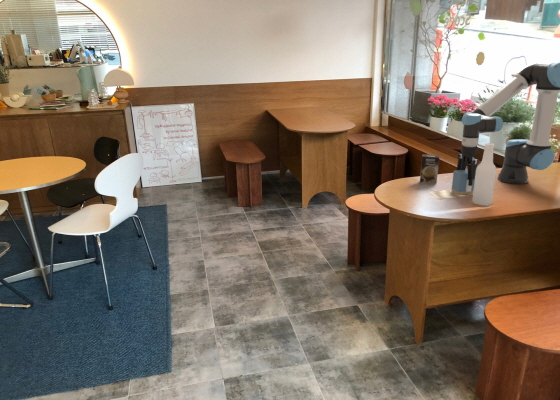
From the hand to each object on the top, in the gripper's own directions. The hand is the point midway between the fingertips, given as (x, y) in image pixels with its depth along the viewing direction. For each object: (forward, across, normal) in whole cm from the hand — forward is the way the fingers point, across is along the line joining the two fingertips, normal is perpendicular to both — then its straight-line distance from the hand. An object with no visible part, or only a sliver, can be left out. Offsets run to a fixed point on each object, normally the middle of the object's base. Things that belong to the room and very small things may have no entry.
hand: (464, 189), depth 232 cm
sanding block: (+1, 0, 0) cm, 1 cm away
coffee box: (+3, -22, -8) cm, 23 cm away
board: (+3, 0, -7) cm, 7 cm away
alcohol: (+3, +15, -1) cm, 16 cm away
